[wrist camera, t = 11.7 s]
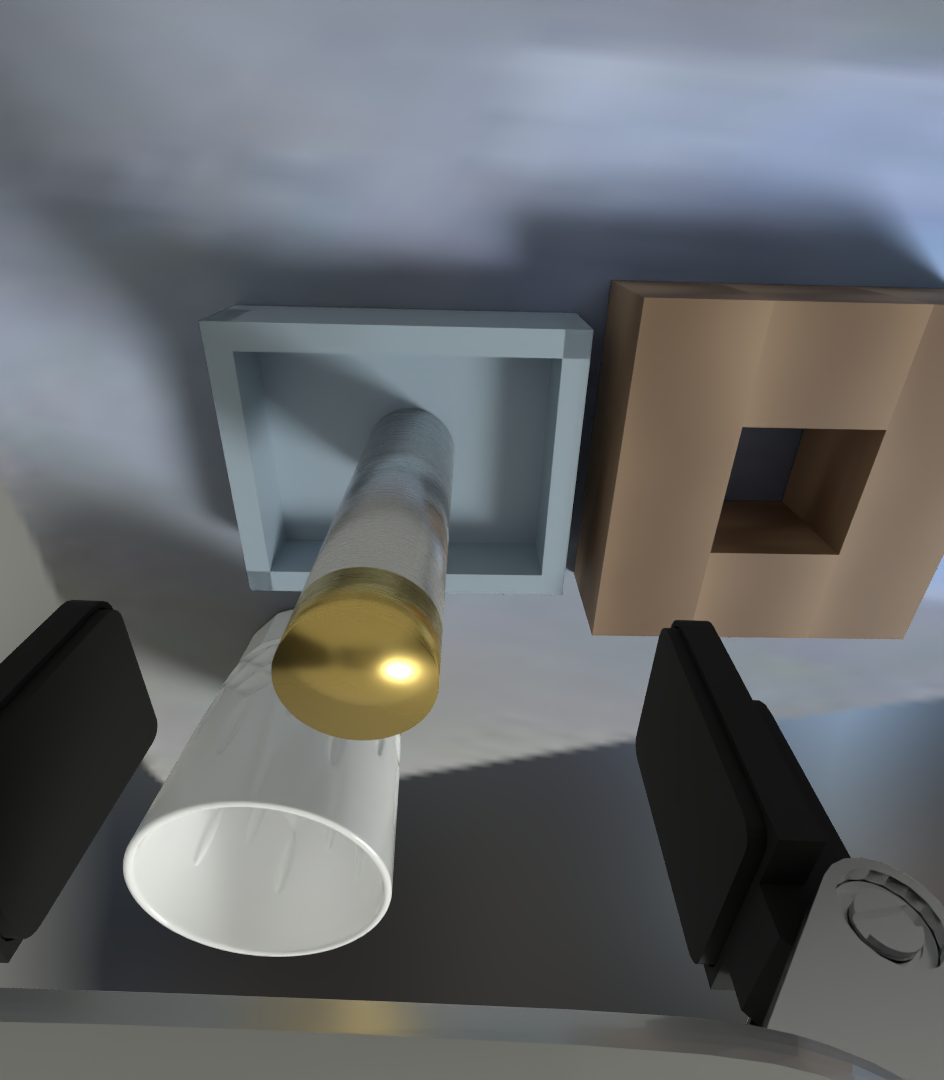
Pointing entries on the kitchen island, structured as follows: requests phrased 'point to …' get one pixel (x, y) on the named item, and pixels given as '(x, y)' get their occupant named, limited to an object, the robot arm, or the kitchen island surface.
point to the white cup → (268, 825)
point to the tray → (390, 384)
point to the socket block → (816, 477)
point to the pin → (376, 591)
